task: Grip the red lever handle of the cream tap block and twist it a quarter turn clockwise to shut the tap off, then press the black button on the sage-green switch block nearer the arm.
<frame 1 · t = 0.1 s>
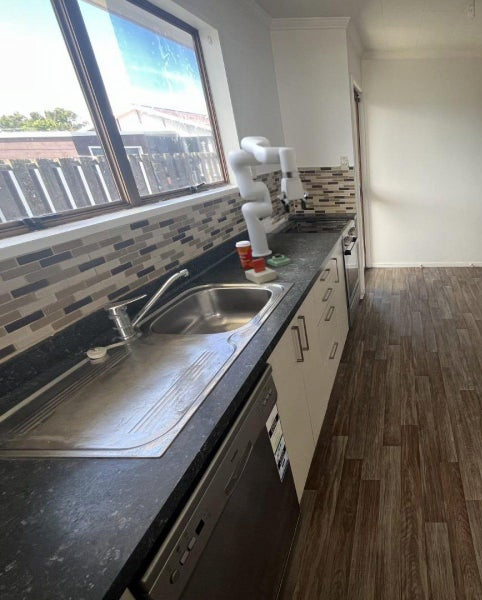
hand: (295, 211, 166), 31 cm above the worktop, tool pointing down, fingers open, 9 cm apart
paper cup: (248, 267, 185), on the worktop
tap block: (261, 278, 168), on the worktop
button: (278, 255, 187), point 5 cm above the worktop, slide at 0.2 cm
switch block: (279, 263, 189), on the worktop
tap handle: (258, 265, 165), point 7 cm above the worktop, hinge at 90.0°
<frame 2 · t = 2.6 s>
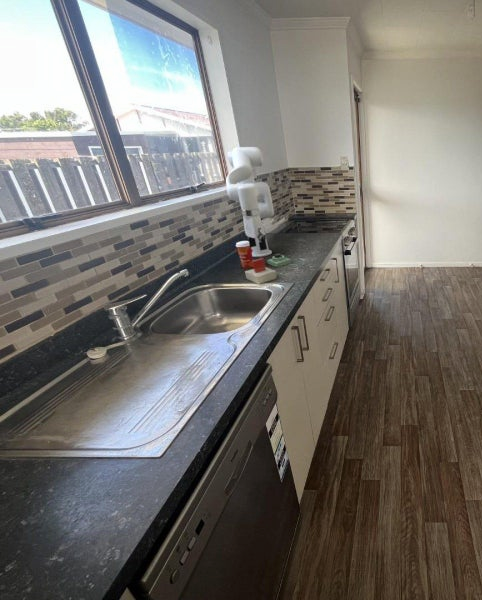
hand: (258, 248, 162), 16 cm above the worktop, tool pointing down, fingers open, 9 cm apart
nothing on the worktop moved.
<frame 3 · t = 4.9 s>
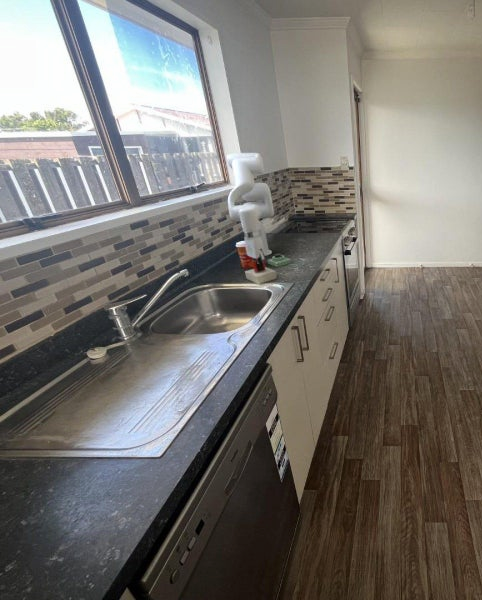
hand: (259, 269, 166), 5 cm above the worktop, tool pointing down, fingers closed on tap handle
tap handle: (258, 265, 165), point 7 cm above the worktop, hinge at 90.0°, touching gripper
everything else where it was.
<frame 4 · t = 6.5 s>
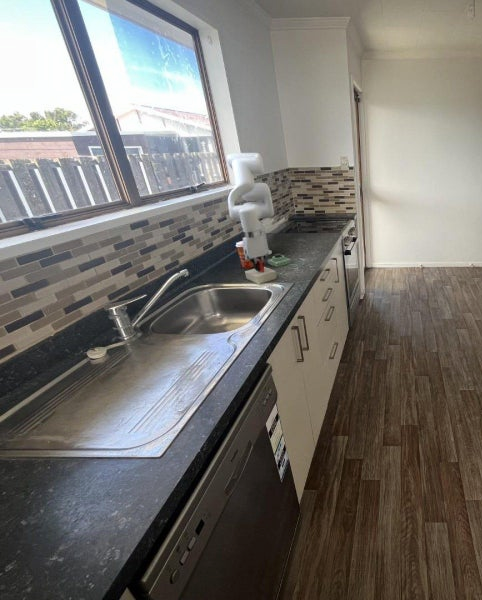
hand: (259, 269, 166), 5 cm above the worktop, tool pointing down, fingers closed on tap handle
tap handle: (258, 265, 165), point 7 cm above the worktop, hinge at 0.8°, touching gripper
everything else where it was.
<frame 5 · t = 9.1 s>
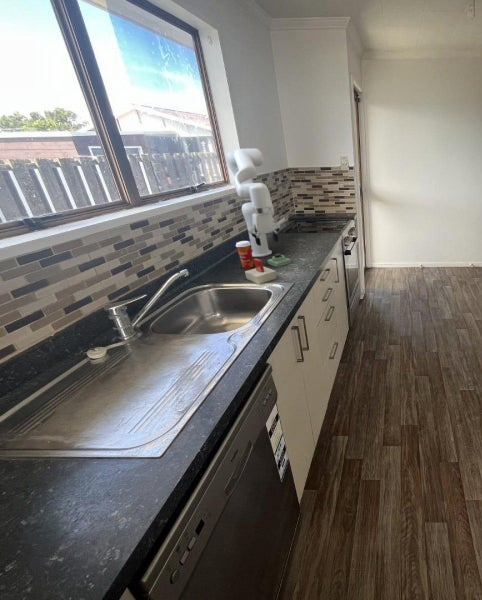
hand: (267, 243, 175), 15 cm above the worktop, tool pointing down, fingers open, 9 cm apart
tap handle: (258, 265, 165), point 7 cm above the worktop, hinge at 1.0°
everything else where it was.
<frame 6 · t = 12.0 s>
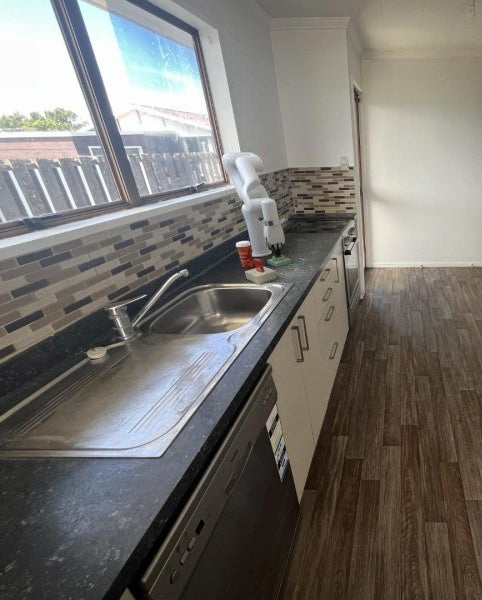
hand: (278, 255, 187), 5 cm above the worktop, tool pointing down, fingers closed
button: (278, 256, 187), point 4 cm above the worktop, slide at -0.3 cm, touching gripper
everything else where it was.
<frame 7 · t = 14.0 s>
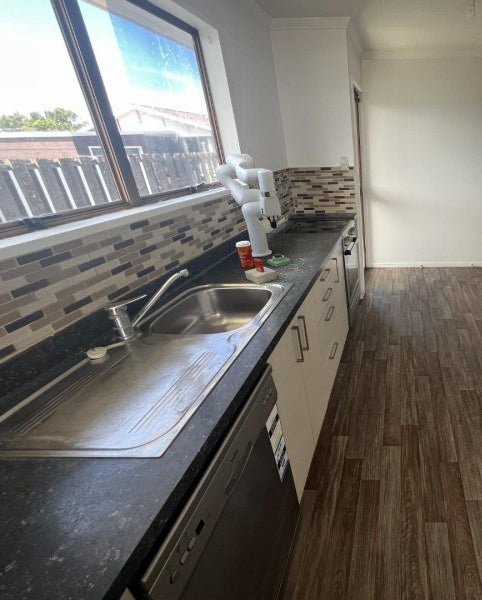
hand: (274, 228, 184), 20 cm above the worktop, tool pointing down, fingers closed
button: (278, 255, 187), point 5 cm above the worktop, slide at 0.1 cm
everything else where it was.
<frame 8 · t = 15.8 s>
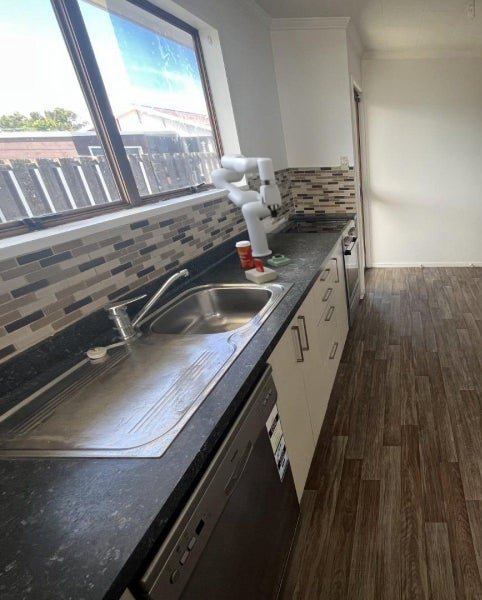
hand: (274, 217, 185), 25 cm above the worktop, tool pointing down, fingers closed
nothing on the worktop moved.
at the end: tap handle at +1° (first picture: +90°); button pushed in 1.1 cm at the most during the clip, back to where it started at the end; button slide at 0.1 cm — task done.
